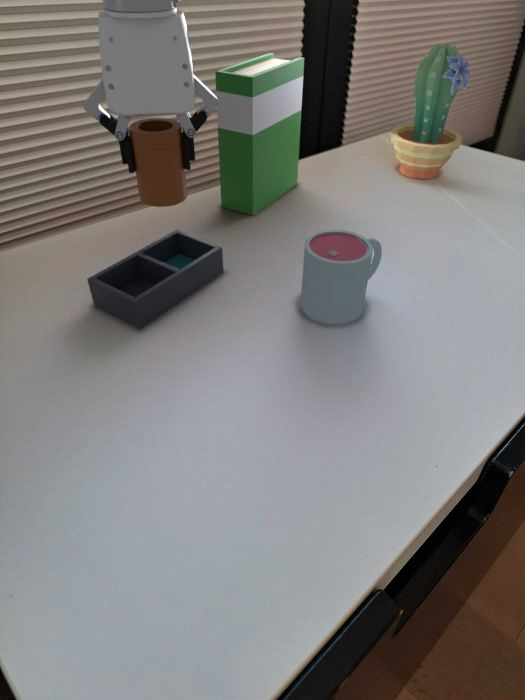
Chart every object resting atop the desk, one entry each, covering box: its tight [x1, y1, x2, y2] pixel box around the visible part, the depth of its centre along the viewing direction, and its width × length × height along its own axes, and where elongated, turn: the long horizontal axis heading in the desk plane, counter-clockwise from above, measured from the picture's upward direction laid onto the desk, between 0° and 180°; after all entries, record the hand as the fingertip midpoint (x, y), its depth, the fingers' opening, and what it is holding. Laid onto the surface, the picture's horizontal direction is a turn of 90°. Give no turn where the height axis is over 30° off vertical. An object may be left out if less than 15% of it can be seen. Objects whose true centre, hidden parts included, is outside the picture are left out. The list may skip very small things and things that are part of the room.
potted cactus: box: [390, 43, 471, 180], centre depth 107 cm, size 15×15×25 cm
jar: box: [128, 117, 188, 208], centre depth 64 cm, size 6×6×9 cm
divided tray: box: [86, 229, 224, 331], centre depth 77 cm, size 10×18×5 cm, turn 144°
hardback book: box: [214, 52, 305, 216], centre depth 97 cm, size 18×7×24 cm, turn 148°
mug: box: [300, 229, 383, 325], centre depth 73 cm, size 14×9×10 cm
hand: (160, 166), depth 64 cm, fingers closed on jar, 6 cm apart
